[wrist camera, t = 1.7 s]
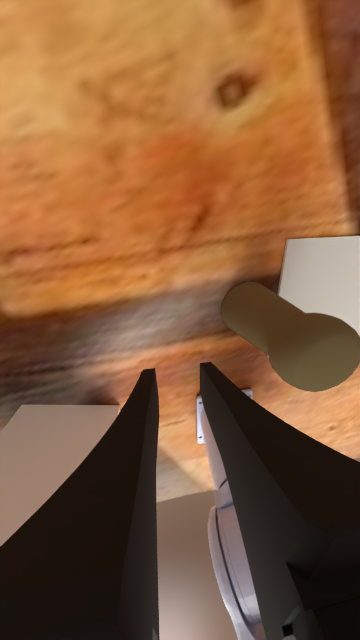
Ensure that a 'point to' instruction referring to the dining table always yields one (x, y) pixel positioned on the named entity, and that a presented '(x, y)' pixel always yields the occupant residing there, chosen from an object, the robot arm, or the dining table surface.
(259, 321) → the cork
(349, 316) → the mat
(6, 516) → the milk
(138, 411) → the robot arm
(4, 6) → the dining table surface
